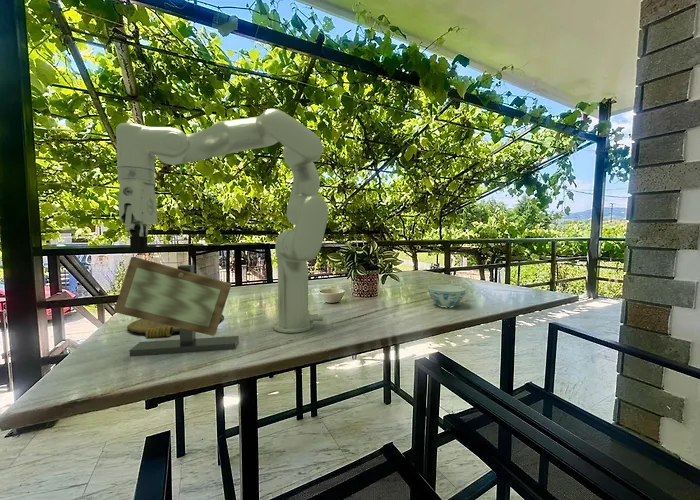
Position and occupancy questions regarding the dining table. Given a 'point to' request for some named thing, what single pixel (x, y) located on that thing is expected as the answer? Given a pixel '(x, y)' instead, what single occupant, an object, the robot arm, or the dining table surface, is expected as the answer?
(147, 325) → the decorative disc
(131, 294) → the picture frame
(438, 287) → the chinaware
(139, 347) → the frame post
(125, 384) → the dining table surface
